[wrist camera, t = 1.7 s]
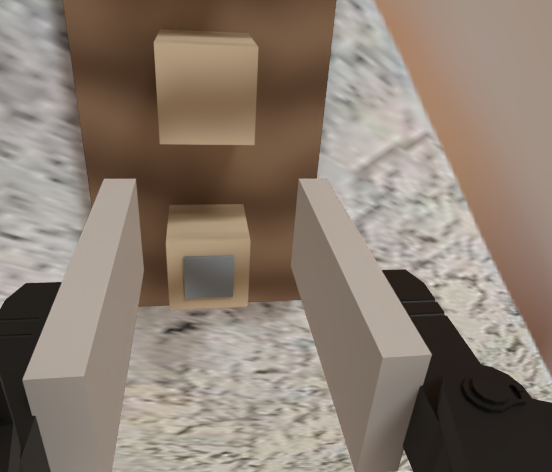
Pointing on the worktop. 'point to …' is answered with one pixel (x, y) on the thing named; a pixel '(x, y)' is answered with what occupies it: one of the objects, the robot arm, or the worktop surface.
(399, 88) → the worktop surface
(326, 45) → the walnut board
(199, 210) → the marked block 1
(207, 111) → the plain beech block
